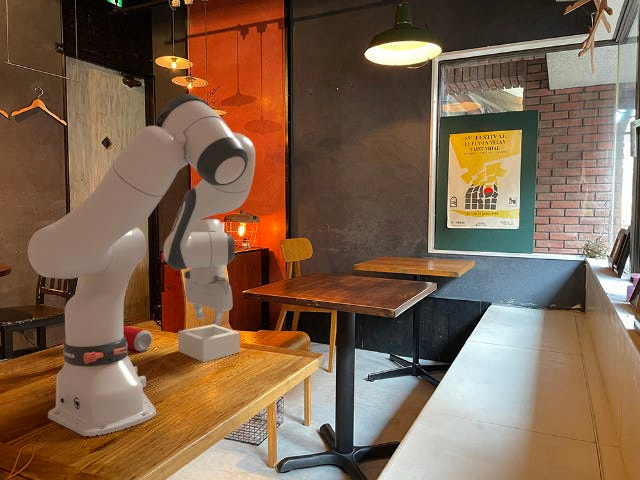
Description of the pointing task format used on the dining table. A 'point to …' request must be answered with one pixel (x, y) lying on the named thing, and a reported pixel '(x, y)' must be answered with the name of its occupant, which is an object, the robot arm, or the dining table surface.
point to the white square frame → (208, 342)
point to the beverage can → (137, 338)
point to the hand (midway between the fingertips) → (208, 321)
